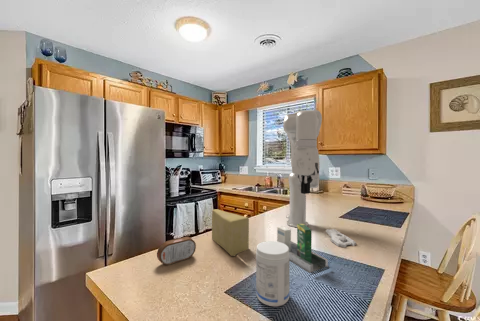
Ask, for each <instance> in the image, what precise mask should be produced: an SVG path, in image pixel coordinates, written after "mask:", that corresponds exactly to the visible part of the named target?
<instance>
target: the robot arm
mask: <svg viewBox="0 0 480 321" xmlns="http://www.w3.org/2000/svg"><path fill="white" fill-rule="evenodd" d="M322 122H323V116H322V113H321V111H319V109H312V110H311V109H307V110H297V111H296V112H294V113H290V114H286V115H285V116H284V119H283V130H284V133H285V134H286V135H287V137H288V141H289V143H290V164H291V165H290V166H291V172H290V173H289V175H288V188H289V213H288V214H287V215H286V219H288V220H287V221H286V224H287V226H290V227H293V228H297V224H304V225H305V226H307V227H309V222H308V221H307V194H310V193H311V189H316V188H318V187H319V184H320V154H319V150H318V148H317V144H318V143H317V142H318V140H317V138H318V137H319V135H320V130H321V126H322Z"/></svg>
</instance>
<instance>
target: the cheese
mask: <svg viewBox="0 0 480 321" xmlns="http://www.w3.org/2000/svg"><path fill="white" fill-rule="evenodd" d="M211 212H212V213H211V239H212V241H214V242H215V243H216V244H218V245H219V246H220V247H221V248H223V249H224V250H225V251H226V253H228V254H229V255H230V256H231V257H236V256H238V253H241V252H244V251H248V250H249V246H250V244H249V242H250V240H249V239H250V238H249V236H250V234H249V233H250V228H249V227H250V226H249V225H250V219H249V217H247V216H243V215H241V214H236V213H231V212H227V211H224V210H222V209H218V208H217V209H215V208H214V209H212V210H211Z"/></svg>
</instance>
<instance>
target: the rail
mask: <svg viewBox="0 0 480 321" xmlns="http://www.w3.org/2000/svg"><path fill="white" fill-rule="evenodd" d="M289 262H290V263H292V264H294V265H295V266H297V267H299V268H300V269H302V270H304V271H306V272H307V273H309V275H308V276H309V277H310V276H312V275H314V274H317V273H321V272H323V271H327V270H328V269H330V268H329V264H328V263H329V259H328V258H325V257H324V256H322V255H320V254H318V253H316V252H313V251H312V250H311V263H310V262H308V261H306V260H304V259H302V258H301V257H299V256H297V242H294V241H292V240H291V251H289ZM322 269H323V270H322ZM318 270H319V271H318ZM310 273H312V274H310Z"/></svg>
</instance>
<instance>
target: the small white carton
mask: <svg viewBox="0 0 480 321" xmlns="http://www.w3.org/2000/svg"><path fill="white" fill-rule="evenodd" d="M276 228H277V231H276V235H277V237H276V239H277V240H276V241H277V242H281V243H284V244H285V245H287V246H288V248H289V251H291V241H292V240H291V239H292V229H290V228H288V227H286V226H283V225H281V226H277V227H276Z"/></svg>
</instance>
